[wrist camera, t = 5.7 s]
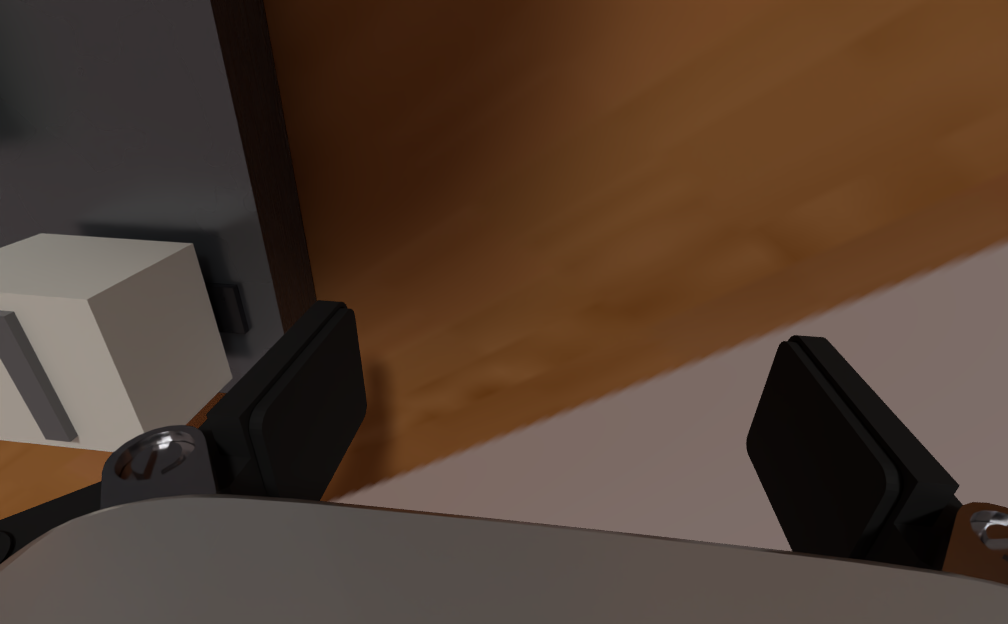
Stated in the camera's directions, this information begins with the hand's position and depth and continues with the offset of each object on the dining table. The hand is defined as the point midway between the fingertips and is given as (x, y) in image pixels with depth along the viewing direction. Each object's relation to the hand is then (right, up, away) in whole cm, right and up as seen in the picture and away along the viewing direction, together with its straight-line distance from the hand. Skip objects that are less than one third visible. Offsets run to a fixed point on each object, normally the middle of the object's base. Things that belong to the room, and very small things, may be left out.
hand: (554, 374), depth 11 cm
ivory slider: (-11, +2, +2) cm, 11 cm away
